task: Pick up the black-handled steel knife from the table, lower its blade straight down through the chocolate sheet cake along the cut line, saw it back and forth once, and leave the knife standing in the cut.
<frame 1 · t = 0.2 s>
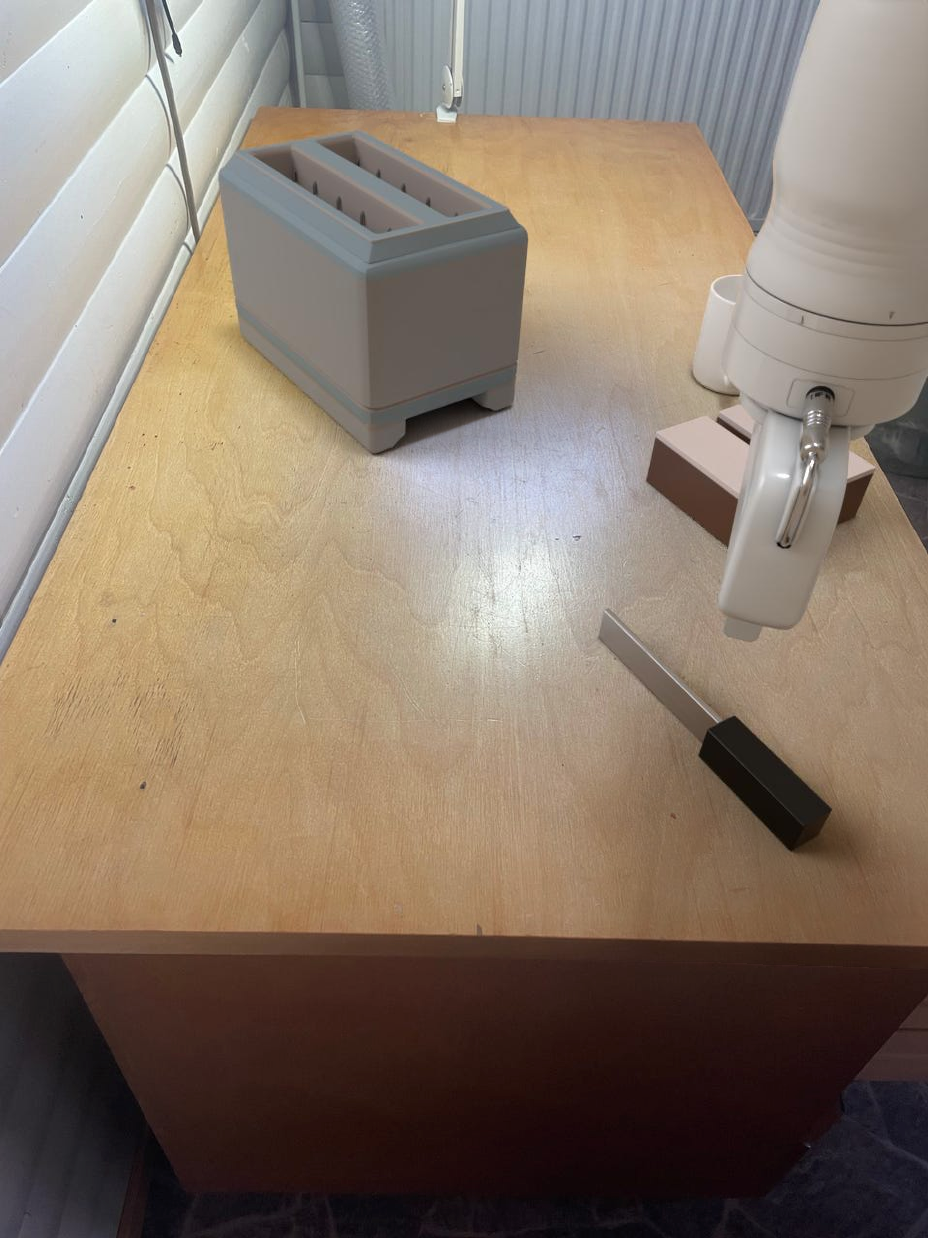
hand: (749, 574, 50), 18 cm above the table, tool pointing down, fingers open, 8 cm apart
mug: (726, 387, 103), on the table
cake: (748, 498, 87), on the table
toaster: (363, 365, 103), on the table
knife: (711, 748, 65), on the table
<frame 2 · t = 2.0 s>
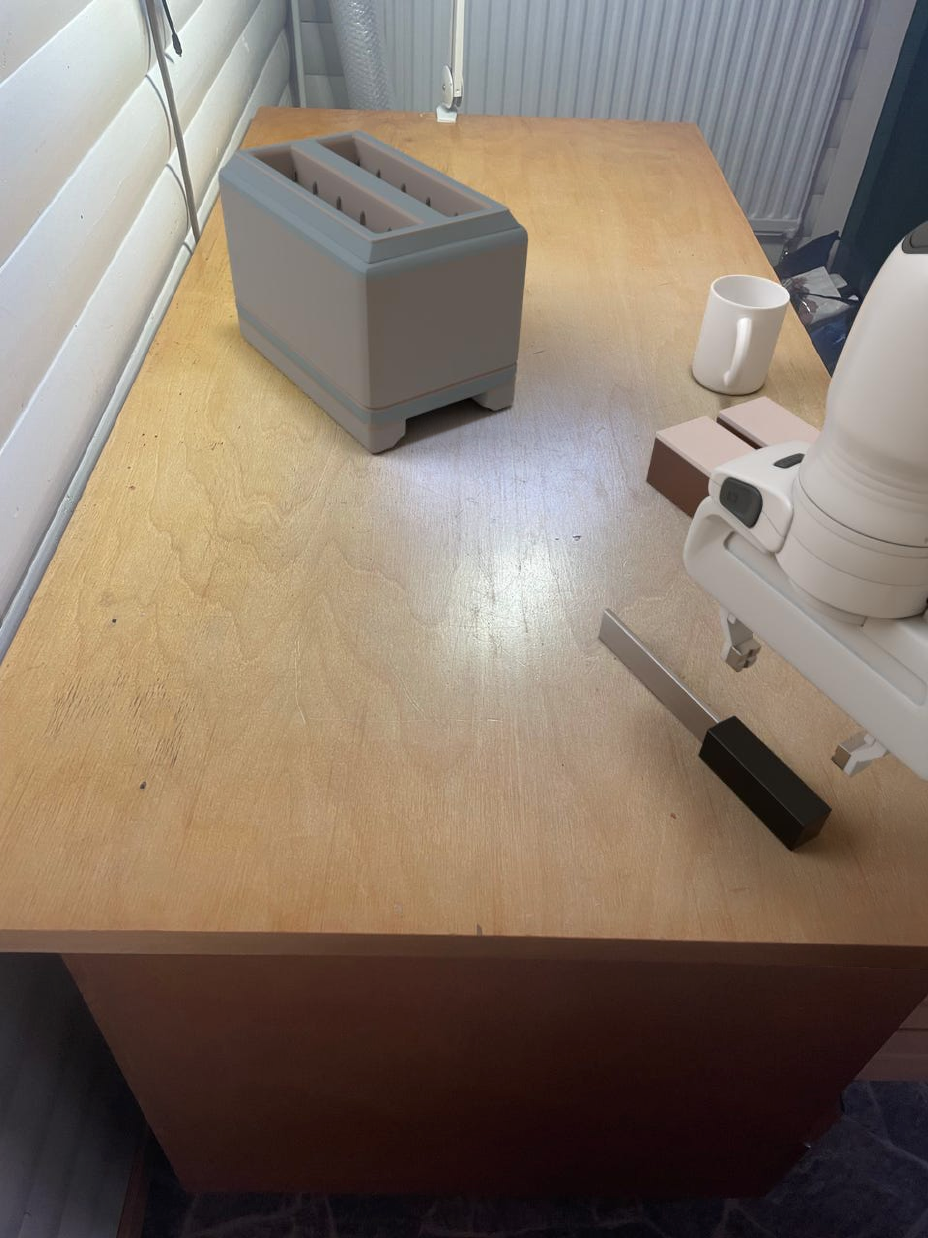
hand: (789, 711, 56), 9 cm above the table, tool pointing down, fingers open, 8 cm apart
nothing on the table moved.
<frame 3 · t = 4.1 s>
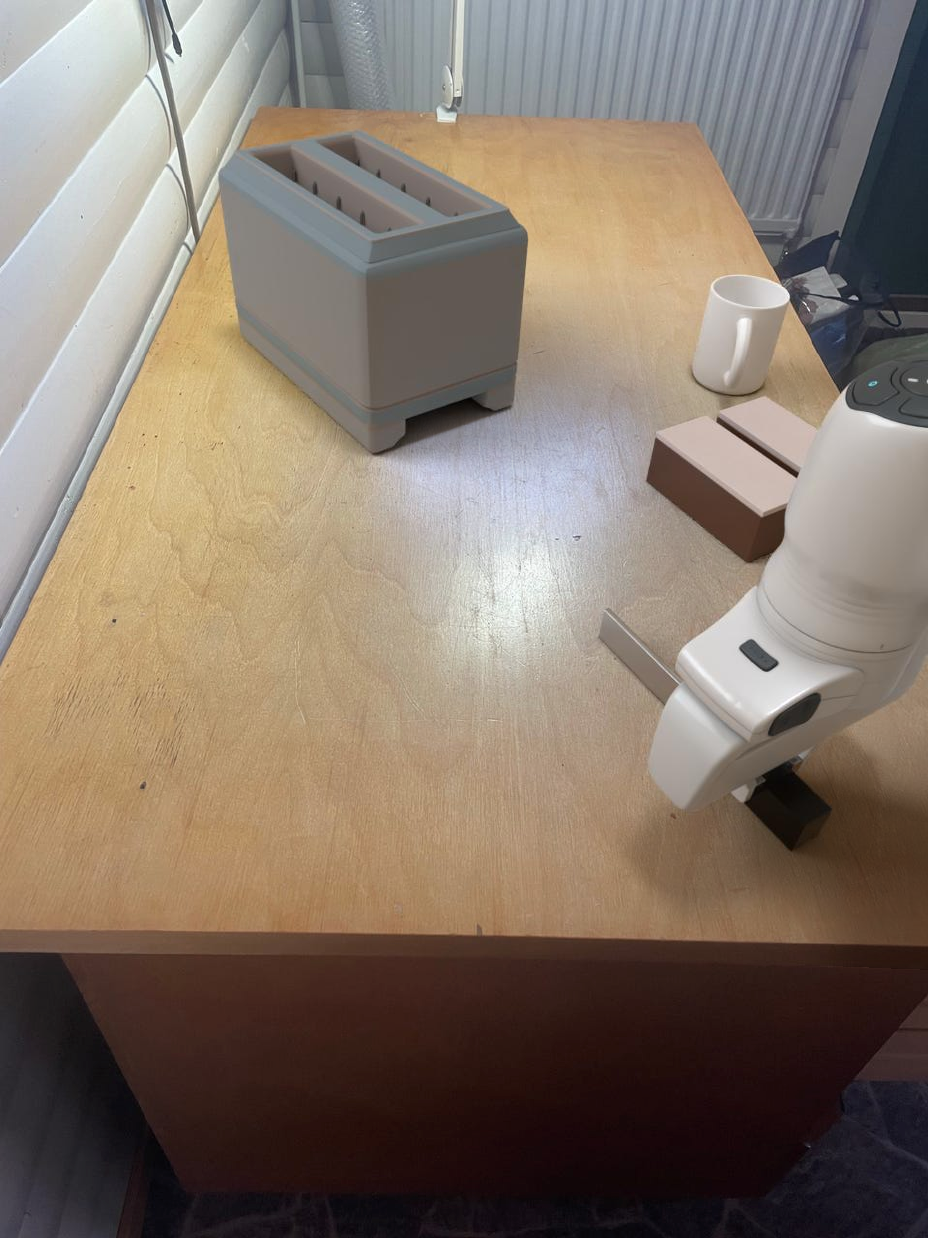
hand: (762, 779, 61), 2 cm above the table, tool pointing down, fingers closed on knife, 2 cm apart
knife: (711, 748, 65), on the table, touching gripper
everything else where it was.
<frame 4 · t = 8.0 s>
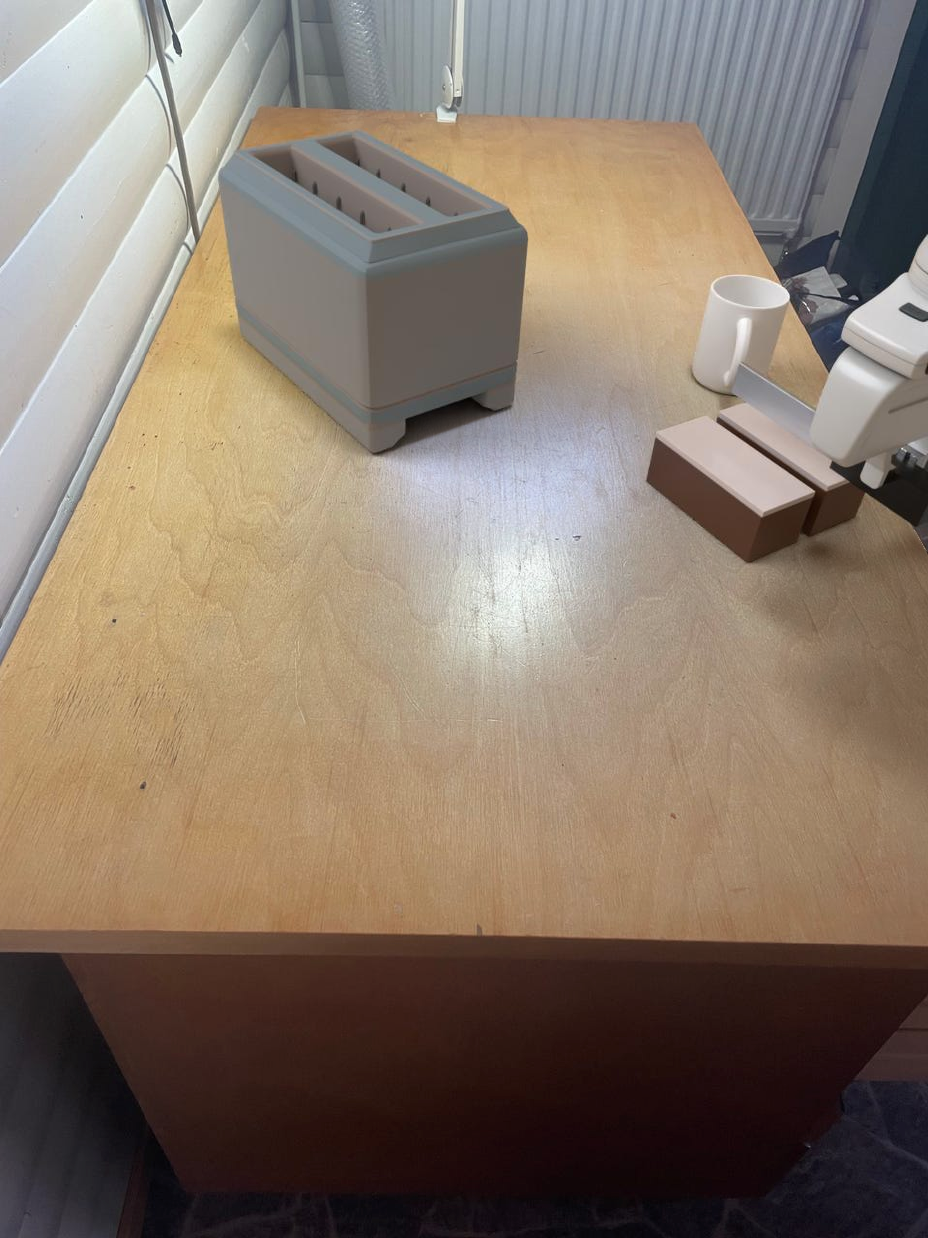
hand: (889, 475, 73), 10 cm above the table, tool pointing down, fingers closed on knife, 2 cm apart
knife: (839, 463, 77), point 9 cm above the table, touching gripper
everything else where it was.
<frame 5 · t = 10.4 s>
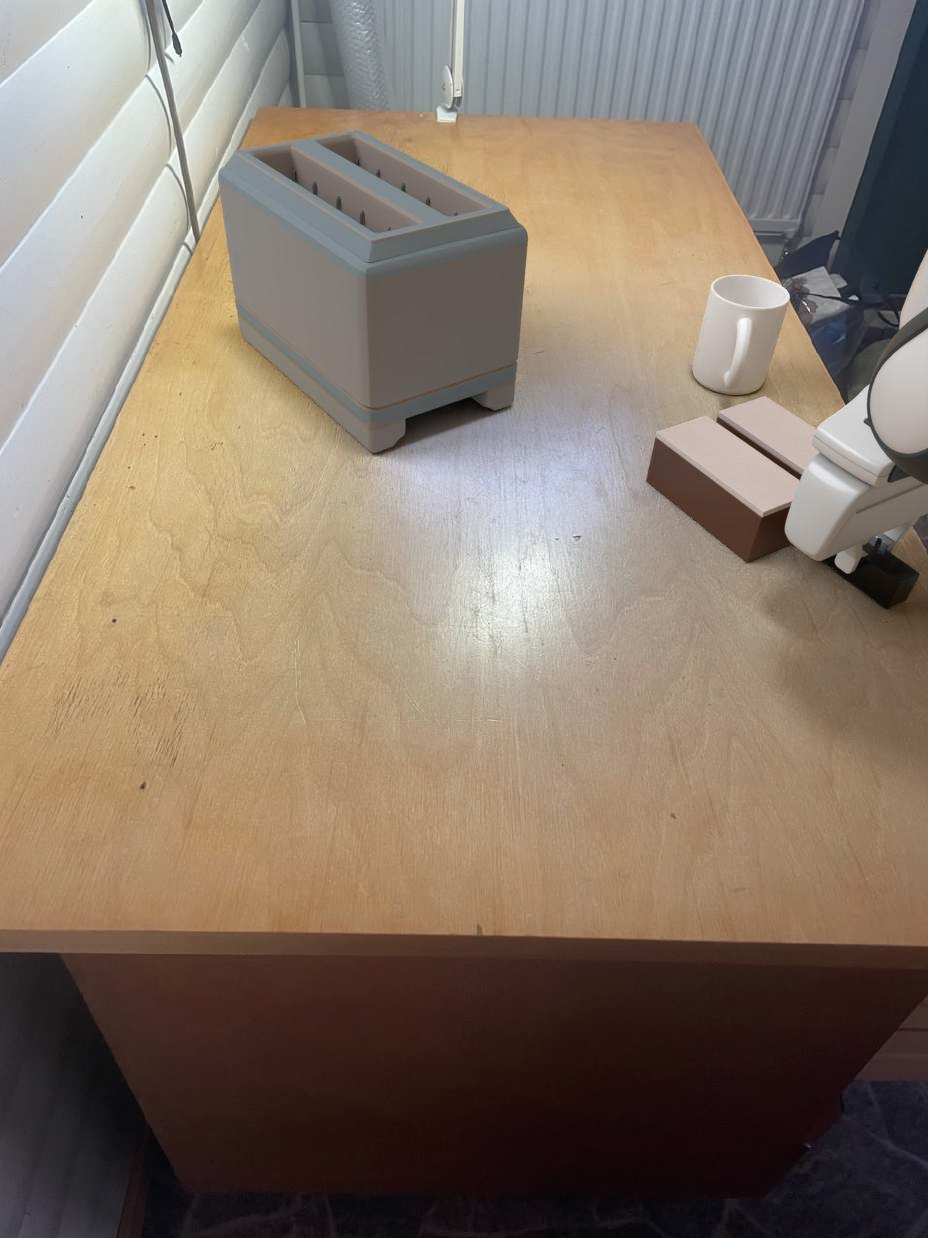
hand: (862, 559, 78), 2 cm above the table, tool pointing down, fingers closed on knife, 2 cm apart
knife: (816, 545, 82), on the table, touching gripper
everything else where it was.
when the fingers open (2 cm above the table, at t = 12.1 s): knife stays where it is, on the table.
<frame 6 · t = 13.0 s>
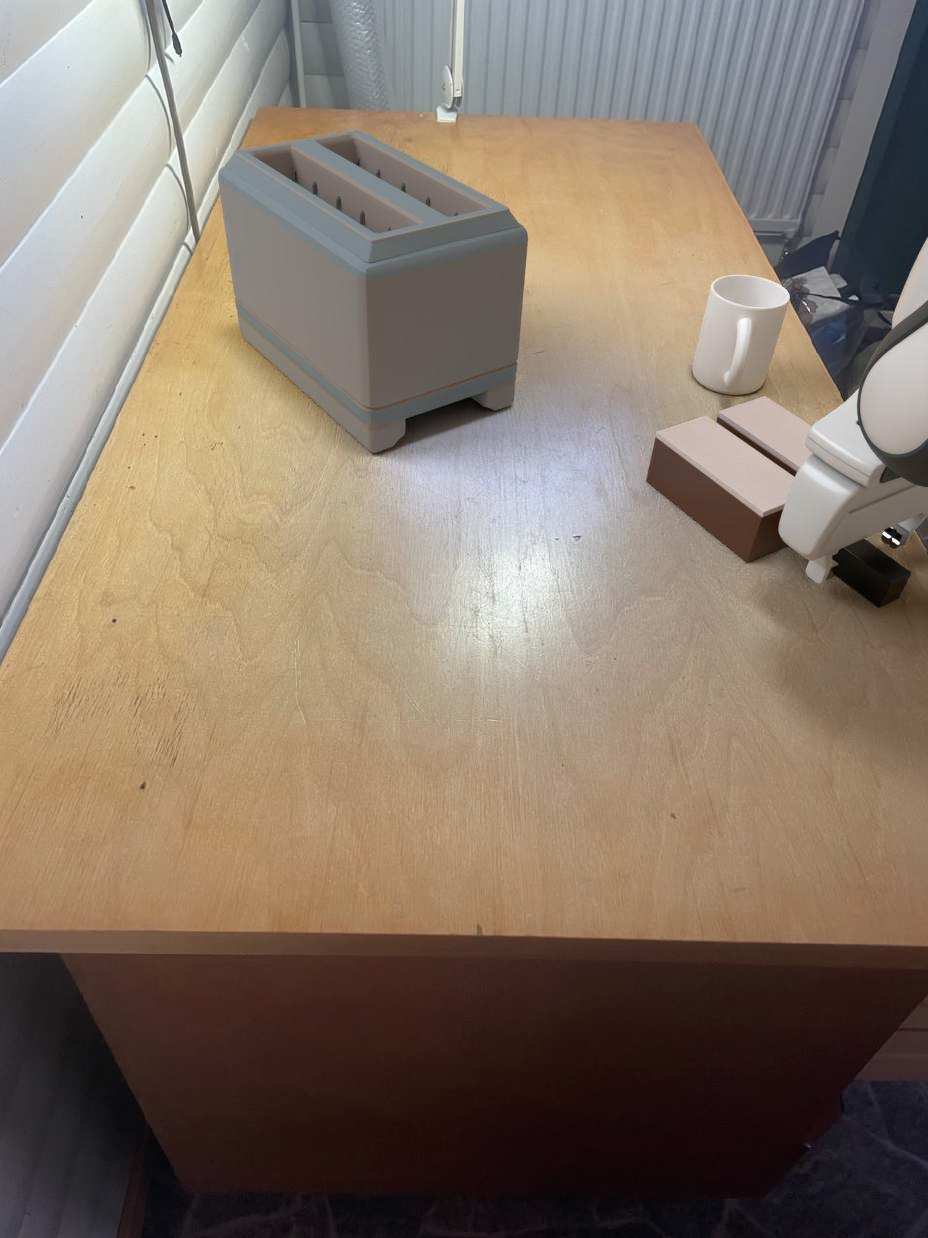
hand: (856, 559, 79), 2 cm above the table, tool pointing down, fingers open, 8 cm apart
knife: (809, 544, 83), on the table
everything else where it was.
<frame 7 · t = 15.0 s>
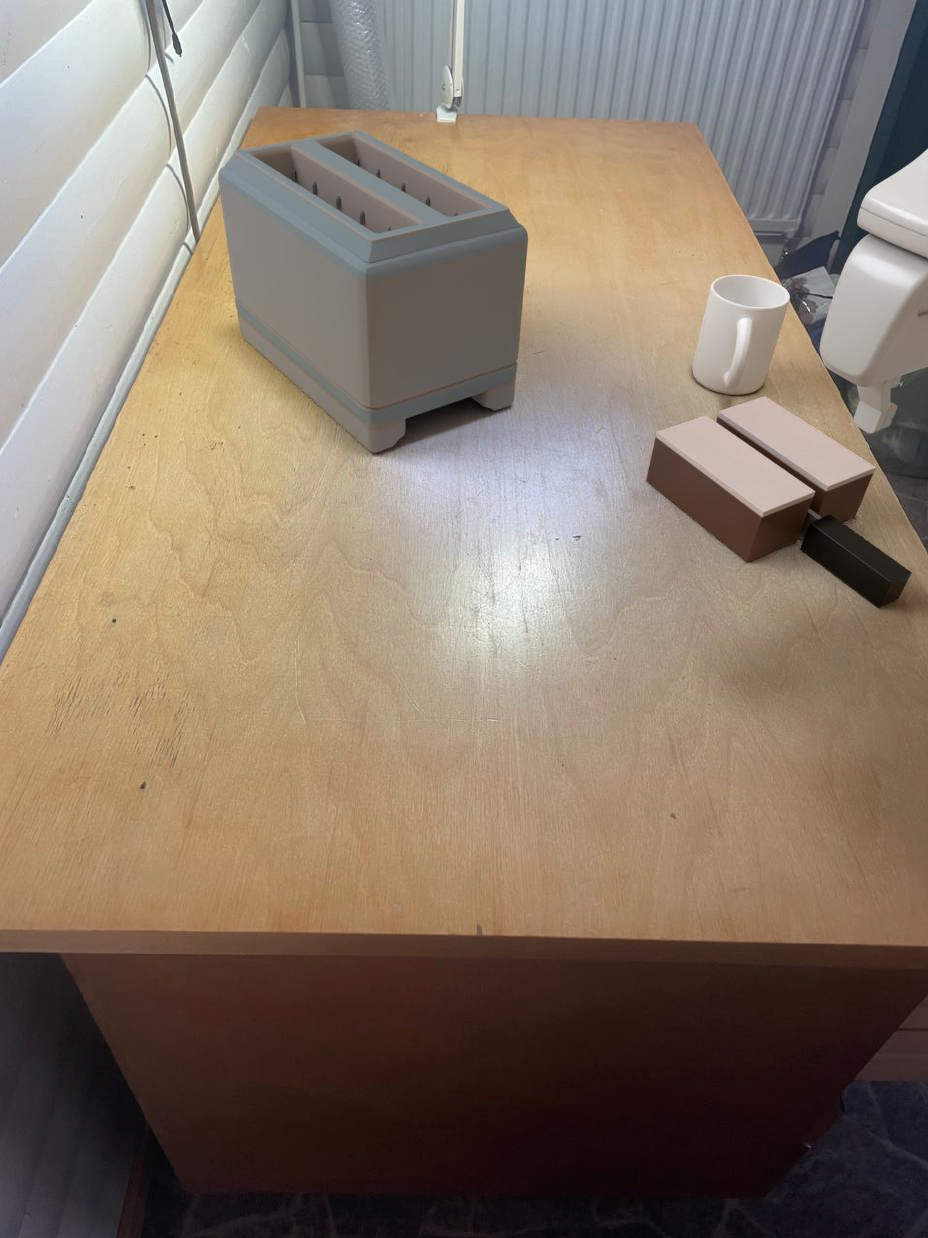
hand: (918, 409, 60), 20 cm above the table, tool pointing down, fingers open, 8 cm apart
nothing on the table moved.
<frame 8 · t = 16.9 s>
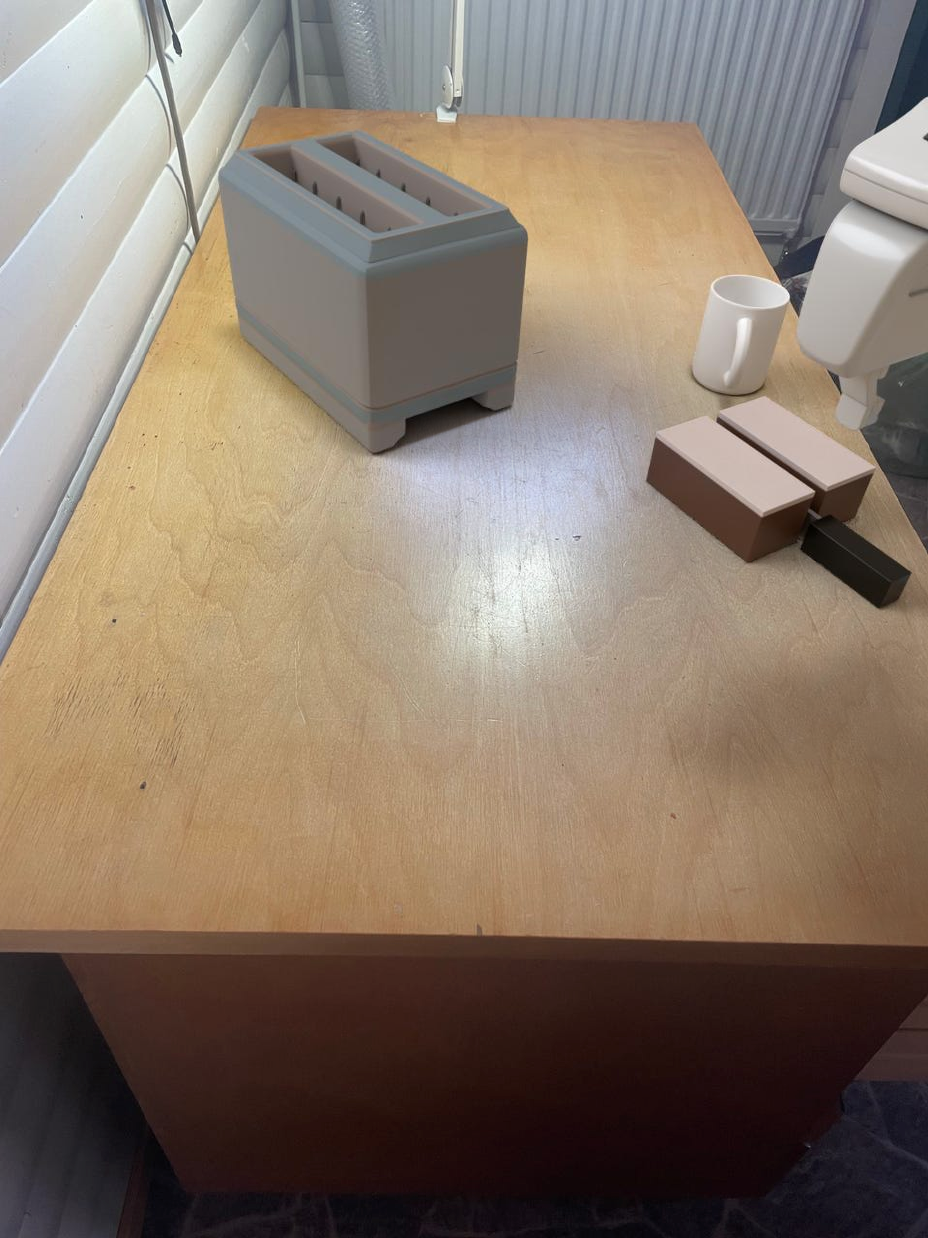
hand: (908, 403, 54), 24 cm above the table, tool pointing down, fingers open, 8 cm apart
nothing on the table moved.
at the end: knife 0.2 cm from the target spot on the cake, point 0.0 cm above the cake's base; knife tilted 0°; the gripper is holding nothing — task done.
